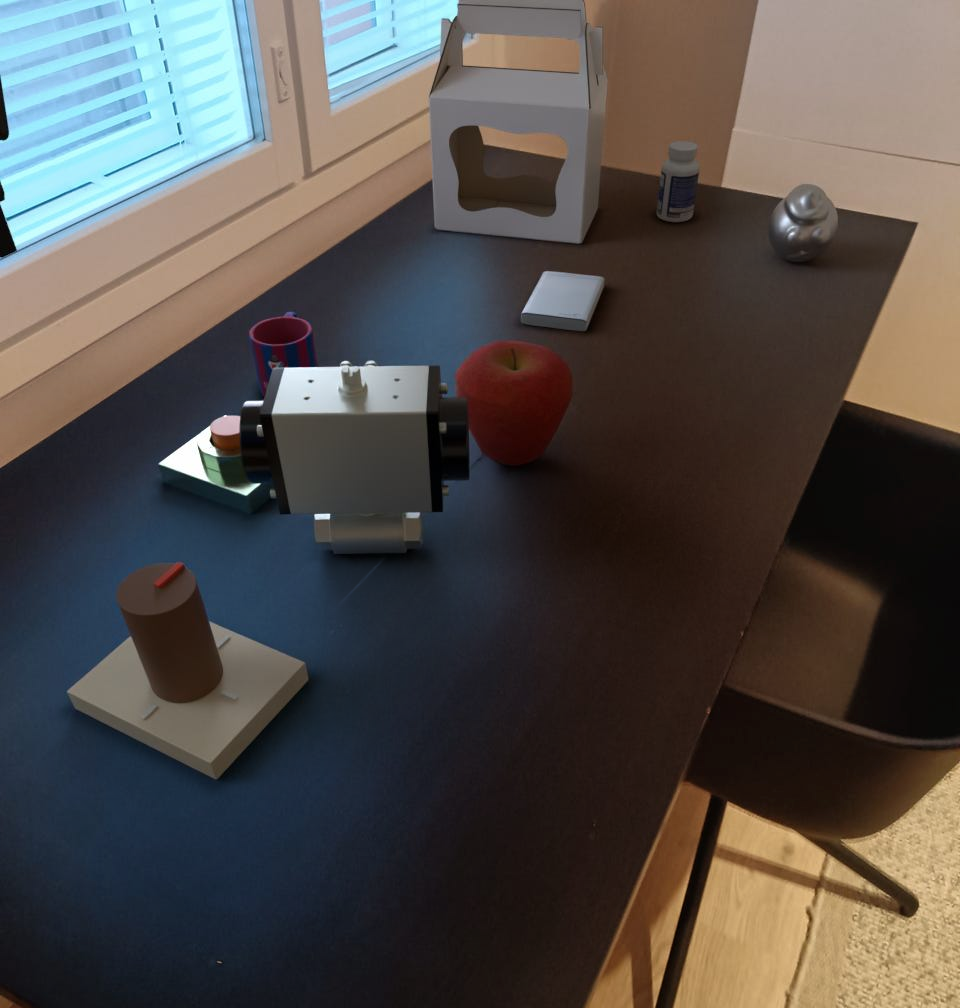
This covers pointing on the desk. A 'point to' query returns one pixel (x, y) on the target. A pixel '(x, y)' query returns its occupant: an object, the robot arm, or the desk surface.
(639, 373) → the desk surface
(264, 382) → the mug
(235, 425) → the button
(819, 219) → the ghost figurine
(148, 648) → the knob
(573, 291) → the hard drive
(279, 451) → the ball valve
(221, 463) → the button box
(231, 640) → the panel
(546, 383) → the apple
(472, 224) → the gable box
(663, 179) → the pill bottle
